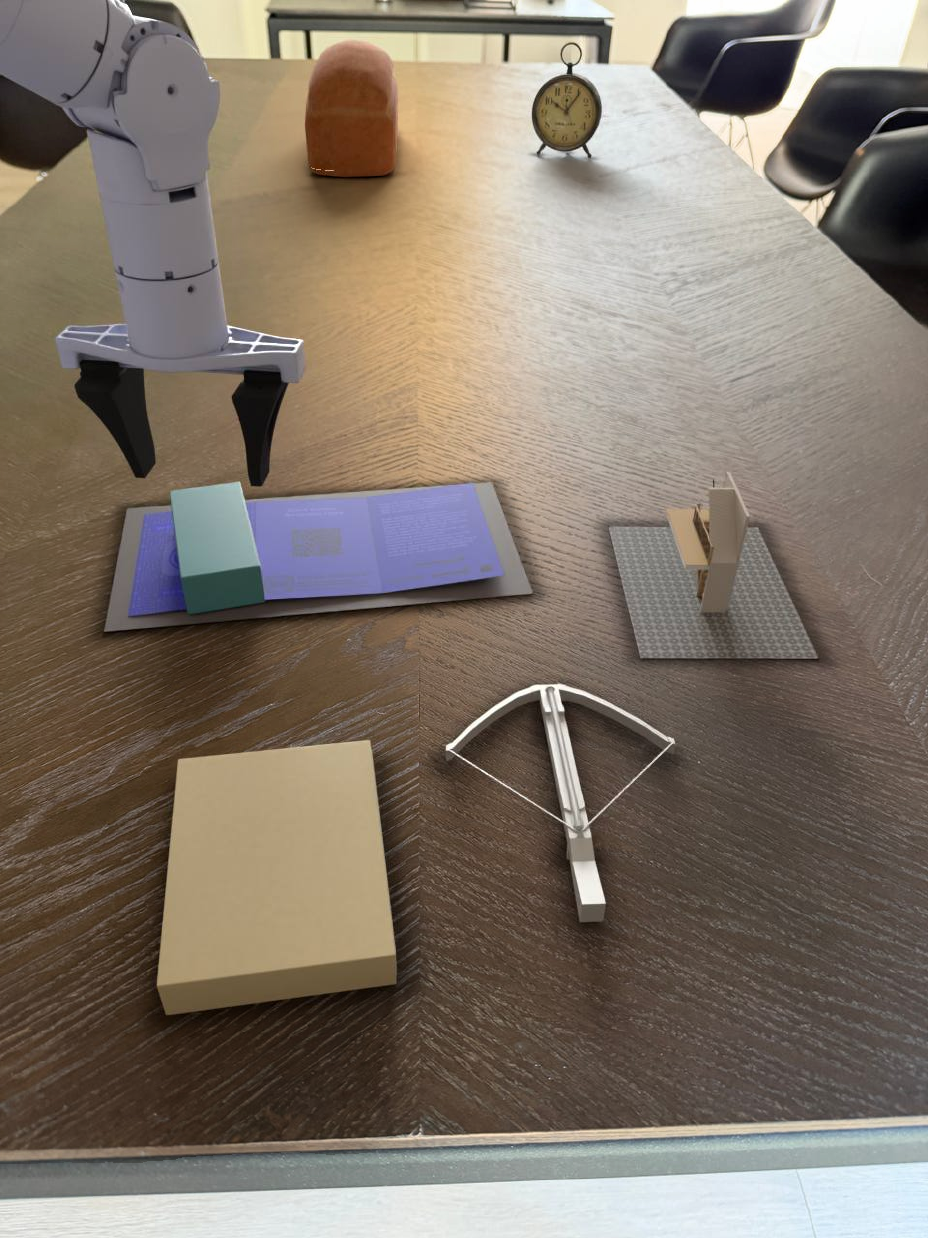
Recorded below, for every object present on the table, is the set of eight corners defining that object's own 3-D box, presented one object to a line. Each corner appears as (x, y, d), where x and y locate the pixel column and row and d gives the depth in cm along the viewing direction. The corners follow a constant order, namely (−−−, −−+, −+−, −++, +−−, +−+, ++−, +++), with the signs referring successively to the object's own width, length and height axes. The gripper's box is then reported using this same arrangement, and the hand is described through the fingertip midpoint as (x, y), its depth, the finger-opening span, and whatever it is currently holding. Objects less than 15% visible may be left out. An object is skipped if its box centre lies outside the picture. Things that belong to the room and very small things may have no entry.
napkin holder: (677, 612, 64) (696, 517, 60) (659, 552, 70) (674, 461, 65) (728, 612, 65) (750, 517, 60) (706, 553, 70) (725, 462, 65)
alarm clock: (528, 156, 159) (535, 42, 149) (534, 148, 163) (540, 37, 153) (595, 161, 157) (606, 46, 147) (598, 153, 161) (609, 41, 151)
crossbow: (441, 707, 58) (441, 680, 57) (649, 701, 59) (653, 674, 58) (456, 929, 45) (456, 900, 44) (723, 918, 46) (731, 889, 44)
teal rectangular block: (188, 615, 63) (180, 578, 61) (176, 525, 71) (169, 490, 69) (266, 602, 64) (261, 565, 62) (245, 515, 72) (240, 480, 70)
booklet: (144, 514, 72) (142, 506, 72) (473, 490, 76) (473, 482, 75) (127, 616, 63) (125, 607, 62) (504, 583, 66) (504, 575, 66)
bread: (305, 177, 146) (296, 60, 137) (321, 128, 172) (314, 25, 162) (396, 178, 147) (394, 61, 137) (399, 128, 172) (397, 27, 163)
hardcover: (166, 1018, 42) (156, 986, 40) (185, 791, 52) (177, 758, 50) (397, 986, 43) (396, 955, 42) (372, 771, 53) (371, 739, 52)
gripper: (309, 247, 57) (325, 452, 66) (72, 234, 58) (118, 437, 67) (279, 289, 52) (301, 507, 60) (17, 274, 53) (75, 490, 61)
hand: (202, 474), depth 63 cm, fingers open, 7 cm apart
